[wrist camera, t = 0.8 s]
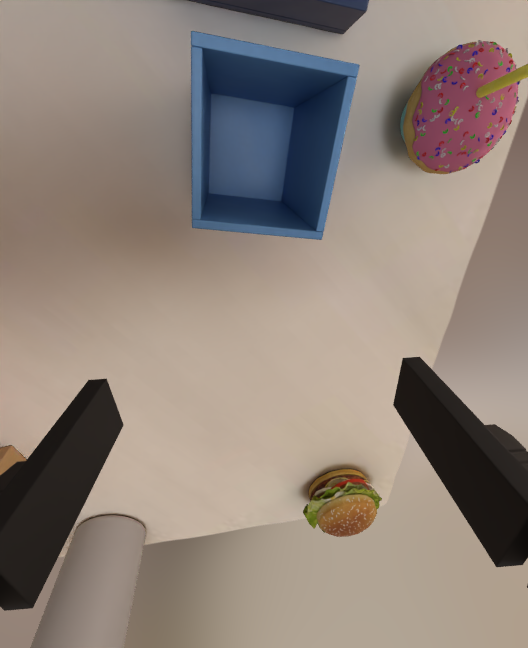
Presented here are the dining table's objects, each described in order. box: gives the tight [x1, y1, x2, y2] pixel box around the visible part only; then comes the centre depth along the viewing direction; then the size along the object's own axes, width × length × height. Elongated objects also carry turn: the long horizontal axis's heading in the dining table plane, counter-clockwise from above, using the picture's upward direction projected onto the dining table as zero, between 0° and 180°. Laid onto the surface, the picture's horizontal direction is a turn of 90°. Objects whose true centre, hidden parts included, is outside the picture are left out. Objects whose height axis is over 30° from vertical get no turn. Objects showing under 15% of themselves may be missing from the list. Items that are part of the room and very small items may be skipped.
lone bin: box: [191, 31, 359, 240], centre depth 21 cm, size 8×8×13 cm
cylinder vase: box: [30, 515, 146, 648], centre depth 45 cm, size 12×12×25 cm
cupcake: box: [400, 41, 528, 174], centre depth 22 cm, size 9×8×12 cm
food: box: [303, 469, 382, 537], centre depth 54 cm, size 14×14×8 cm
